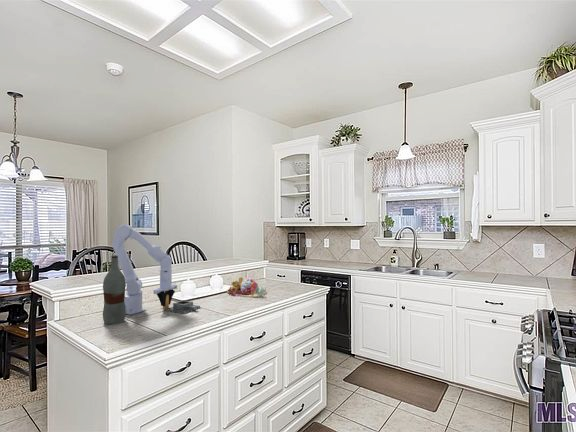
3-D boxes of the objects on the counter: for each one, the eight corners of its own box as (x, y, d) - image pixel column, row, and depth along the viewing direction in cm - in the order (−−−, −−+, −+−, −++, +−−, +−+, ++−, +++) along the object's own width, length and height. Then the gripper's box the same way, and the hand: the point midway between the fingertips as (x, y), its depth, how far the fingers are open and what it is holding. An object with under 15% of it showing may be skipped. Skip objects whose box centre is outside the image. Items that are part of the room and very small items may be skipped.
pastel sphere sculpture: (220, 295, 202) (220, 280, 202) (237, 288, 224) (237, 274, 224) (258, 298, 194) (258, 283, 195) (272, 290, 217) (272, 276, 217)
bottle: (100, 325, 144) (100, 257, 144) (105, 319, 153) (105, 255, 153) (123, 324, 146) (123, 256, 147) (127, 318, 155) (127, 254, 156)
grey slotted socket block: (187, 314, 161) (187, 307, 162) (165, 310, 167) (165, 304, 167) (203, 308, 172) (203, 301, 172) (182, 305, 178) (182, 298, 178)
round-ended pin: (165, 309, 169) (165, 296, 169) (161, 309, 170) (161, 295, 171) (170, 308, 172) (170, 295, 172) (165, 307, 173) (165, 294, 173)
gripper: (160, 281, 163) (160, 309, 163) (181, 277, 176) (181, 302, 176) (150, 280, 166) (150, 307, 166) (171, 276, 179) (171, 301, 179)
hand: (165, 305), depth 171 cm, fingers closed on round-ended pin, 3 cm apart
